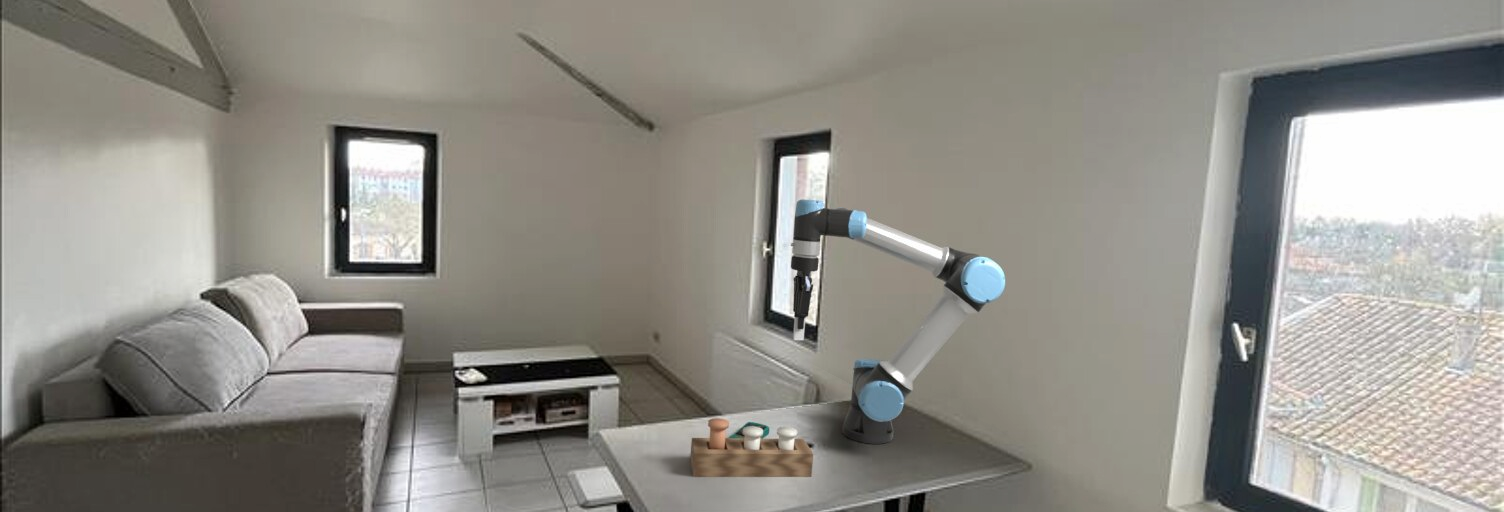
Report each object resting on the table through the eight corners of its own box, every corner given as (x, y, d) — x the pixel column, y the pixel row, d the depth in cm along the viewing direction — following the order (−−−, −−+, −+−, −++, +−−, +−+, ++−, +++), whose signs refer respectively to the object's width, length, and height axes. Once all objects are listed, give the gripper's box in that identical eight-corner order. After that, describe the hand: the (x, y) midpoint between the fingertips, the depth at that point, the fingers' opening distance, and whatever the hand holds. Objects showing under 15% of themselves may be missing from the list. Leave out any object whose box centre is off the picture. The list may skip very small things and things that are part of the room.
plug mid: (758, 459, 177) (761, 426, 176) (762, 468, 172) (764, 433, 171) (738, 459, 176) (741, 426, 175) (741, 467, 171) (744, 433, 170)
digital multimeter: (770, 434, 200) (770, 424, 200) (751, 451, 186) (752, 441, 186) (747, 429, 203) (747, 420, 202) (727, 446, 189) (728, 435, 189)
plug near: (792, 459, 179) (794, 426, 178) (796, 468, 174) (799, 434, 173) (772, 459, 178) (775, 426, 177) (776, 468, 173) (779, 434, 172)
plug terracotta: (724, 452, 175) (727, 418, 174) (727, 460, 170) (730, 425, 169) (705, 451, 174) (707, 418, 173) (707, 460, 169) (709, 425, 168)
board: (801, 460, 182) (803, 438, 181) (811, 476, 172) (813, 454, 171) (690, 459, 176) (691, 437, 176) (693, 476, 167) (694, 453, 166)
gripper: (786, 252, 192) (780, 333, 195) (797, 257, 179) (790, 345, 182) (812, 253, 193) (805, 334, 196) (824, 259, 181) (817, 345, 183)
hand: (798, 339), depth 189 cm, fingers closed
